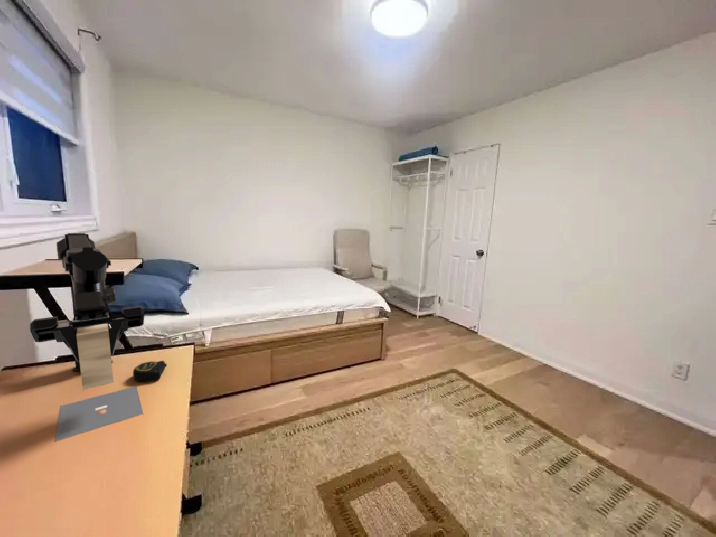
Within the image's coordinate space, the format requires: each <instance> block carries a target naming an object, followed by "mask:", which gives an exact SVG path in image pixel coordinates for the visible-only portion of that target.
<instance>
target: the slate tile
mask: <svg viewBox="0 0 716 537" xmlns="http://www.w3.org/2000/svg"><path fill="white" fill-rule="evenodd" d="M59 406H60V407H59V412H58V418H57V425H56V431H55V432H56V433H55V439H54V442H59V441H62V440H64V439H69V438H72V437H74V436H77V435H80V434H81V435H82V434H85V433H88V432H90V431H93V430H98V429H99V428H103V427H106V426H109V425H113V424H116V423H119V422H122V421H125V420H129V419H133V418H135V417H138V416H141V415H144V411H143V408H142V404H141V400H140V395H139V391H138V386H137V385H135V386H132V387H126V388H124V389H119V390H116V391H113V392H109V393H104V394H101V395H97V396H94V397H89V398H85V399H81V400H78V401H75V402H70V403H66V404H63V405H59Z"/></svg>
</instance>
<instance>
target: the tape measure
mask: <svg viewBox="0 0 716 537" xmlns="http://www.w3.org/2000/svg"><path fill="white" fill-rule="evenodd" d="M167 365H168V363H166V362H165V360H159V361H155V360H154V361H152V360H151V361H145V362H141V363H140V364H138V365H137V366H135V367H134V369H133V371H132V377H133V380H134V381H135V382H136V383H149V382H154V381H159V380H160V379H161V377H162V374H163V373H164V371H165V368H167Z"/></svg>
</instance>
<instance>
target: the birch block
mask: <svg viewBox="0 0 716 537" xmlns="http://www.w3.org/2000/svg"><path fill="white" fill-rule="evenodd" d="M77 344H78V353H79V361H80V370H81V372H80V376H81V384H82V385H81V386H82V391H85V390H89V389H94V388H97V387H101V386H106V385H109V384H113V383H114V376H113V375H114V374H113V365H112V363H113V362H111V360H112V356H111V352H110V342H109V332H108V324H101V325H94V326H87V327H80V328H77Z"/></svg>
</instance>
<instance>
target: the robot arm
mask: <svg viewBox="0 0 716 537" xmlns="http://www.w3.org/2000/svg"><path fill="white" fill-rule="evenodd" d="M56 251H57V259H58V261H61V265H62V268H63V269H64V272H68V274H69V276H70V278H71V282H72V283H71V284H72V289H73V290H72V291H73V299H74V301H73V304H72V309H73V310H72V311H73V318H72V320H70V319H64V320H59V317H58V316H50V317H49V316H48V317H41V318H34V319H33V320H32V321H31V322H30V324H29V326H30V328H29V331H30V333H31V337H32V338H33V340H34V343H43V342H51V341H56V342H57V343H64V344H65V345H66V347H67V348H68V349H69V350H70V352H71V354H72V355H73V357H74V362H75V363H74V364H75V365H74V366H75V367H73V368H72V369H71V371H72V372H80V373H81V370H80V361H79V353H78V344H77V328H80V327H87V326H94V325H101V324H108V332H109V342H110V352H111V357H112V356H114V354H115V350H116V349H117V348H116V347H117V344H118V342H119V339H120V338H121V336H122V334H123V333H126V332H127V331H129V329H132V328H138V327H139V328H140V327H142V326H144V324H145V323H144V322H145V310H144V308H143V307H142V306H141V305H136V306H128V307H123V308H122V313H119V314H113V315H112V314H111V315H109V313H110V312H109V304H114V303H115V304H116V290H115V287H108V288H107V286H106V278H107V269H109V266H112V263H111V262H112V260H110V259H109V258H108V257H107V256H106V255H105V254H103V253H102V251H101V250H100V249H99V248H96V243H95V241H94V240H92V239H91V238H90V236H89V233H85V232H68V233H64V237H63V238H62V239H60V240H58V241H57V242H56ZM111 362H112V363H113V362H114V361H113V360H112V359H111Z"/></svg>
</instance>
